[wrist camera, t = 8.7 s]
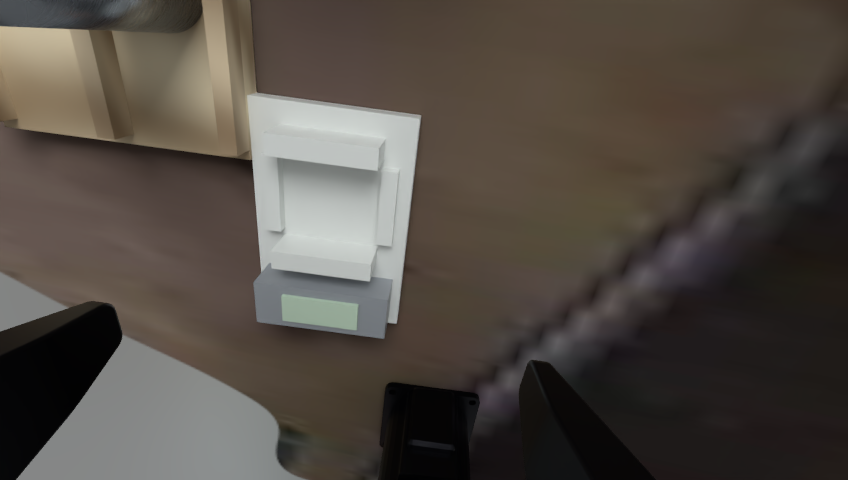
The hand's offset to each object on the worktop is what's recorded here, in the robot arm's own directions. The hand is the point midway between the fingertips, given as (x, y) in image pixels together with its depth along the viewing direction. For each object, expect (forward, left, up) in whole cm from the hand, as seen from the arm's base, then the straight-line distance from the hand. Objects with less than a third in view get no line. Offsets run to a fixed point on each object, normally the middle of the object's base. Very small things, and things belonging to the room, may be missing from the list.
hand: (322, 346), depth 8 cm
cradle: (-3, +3, -13) cm, 14 cm away
